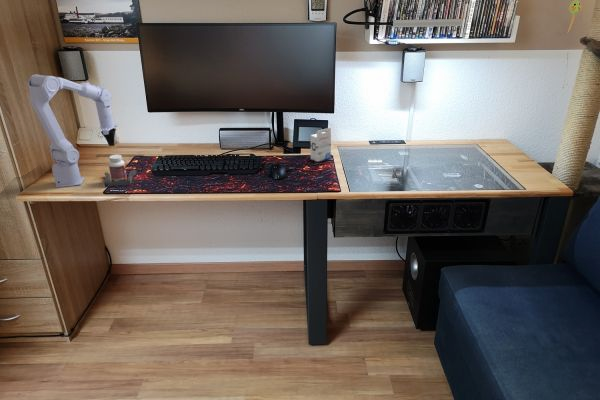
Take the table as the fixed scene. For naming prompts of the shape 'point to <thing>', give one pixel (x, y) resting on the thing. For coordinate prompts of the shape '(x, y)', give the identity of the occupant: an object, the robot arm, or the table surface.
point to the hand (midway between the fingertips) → (111, 145)
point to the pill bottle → (117, 168)
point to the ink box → (321, 145)
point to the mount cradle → (118, 182)
